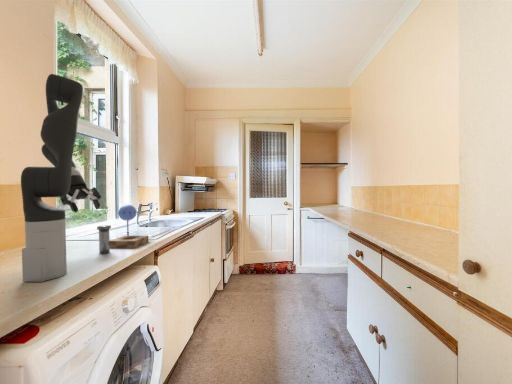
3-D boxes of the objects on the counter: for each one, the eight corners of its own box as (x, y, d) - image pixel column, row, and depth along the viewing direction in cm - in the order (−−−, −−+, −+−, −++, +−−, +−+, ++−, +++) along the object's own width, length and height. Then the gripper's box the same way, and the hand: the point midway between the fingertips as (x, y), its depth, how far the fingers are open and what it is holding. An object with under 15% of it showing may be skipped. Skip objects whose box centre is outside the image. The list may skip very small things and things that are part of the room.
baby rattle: (119, 237, 128) (118, 204, 128) (137, 236, 132) (136, 203, 131) (117, 241, 120) (117, 205, 120) (136, 239, 124) (136, 204, 123)
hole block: (134, 247, 106) (134, 241, 106) (108, 247, 107) (108, 241, 107) (148, 241, 118) (148, 235, 118) (125, 241, 119) (125, 235, 119)
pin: (106, 254, 96) (105, 227, 96) (94, 254, 96) (94, 227, 96) (114, 251, 101) (113, 225, 100) (103, 251, 101) (102, 225, 101)
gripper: (55, 174, 97) (72, 207, 94) (92, 173, 110) (108, 202, 107) (49, 185, 100) (65, 217, 97) (86, 183, 113) (101, 211, 110)
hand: (87, 209), depth 102 cm, fingers open, 8 cm apart
